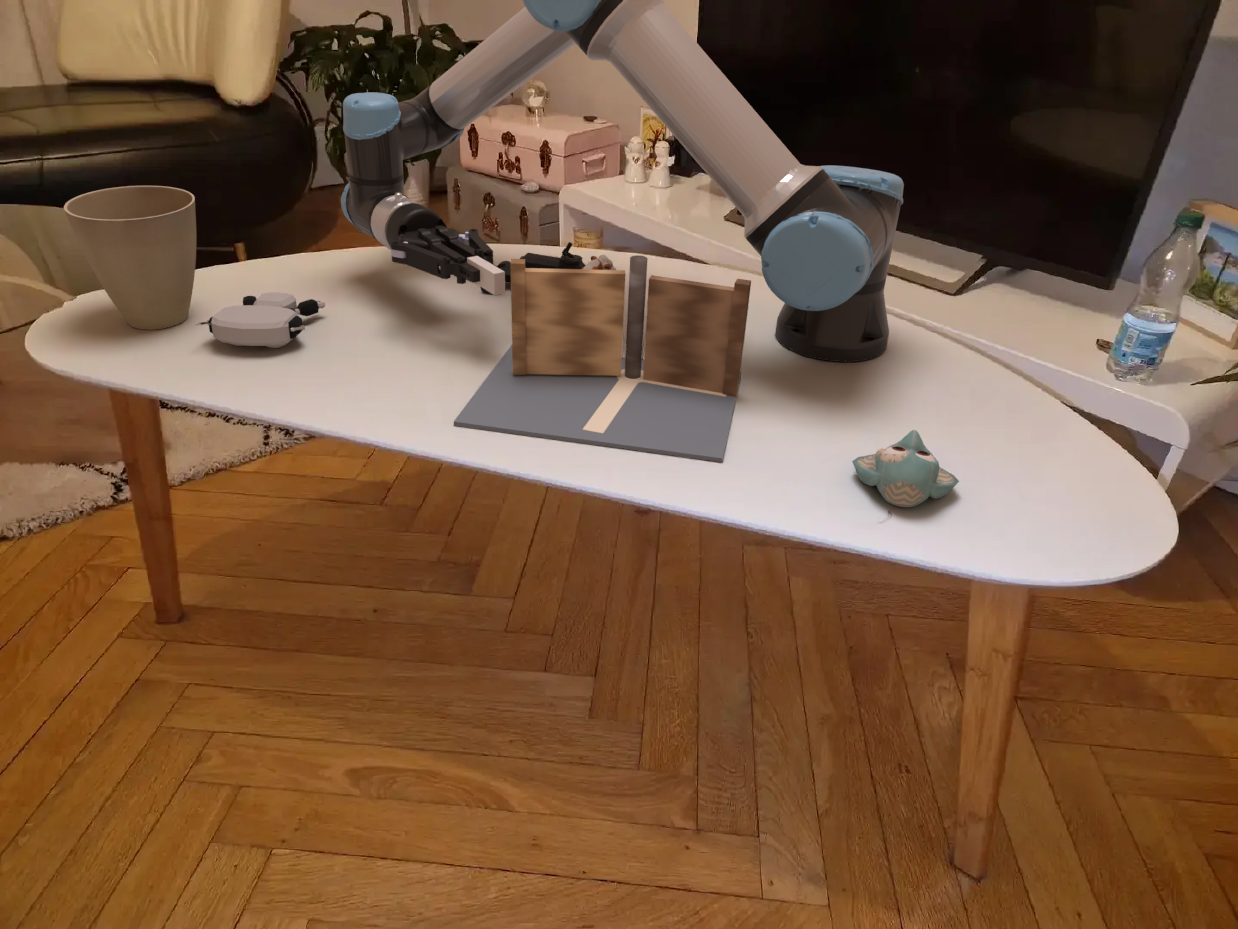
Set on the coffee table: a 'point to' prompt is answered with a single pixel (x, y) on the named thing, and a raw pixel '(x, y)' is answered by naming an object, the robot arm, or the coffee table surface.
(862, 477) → the stuffed animal
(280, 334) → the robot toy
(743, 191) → the robot arm
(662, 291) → the rod
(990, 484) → the coffee table surface
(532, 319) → the fence panel
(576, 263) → the toy vehicle
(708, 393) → the board
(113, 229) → the plant pot
